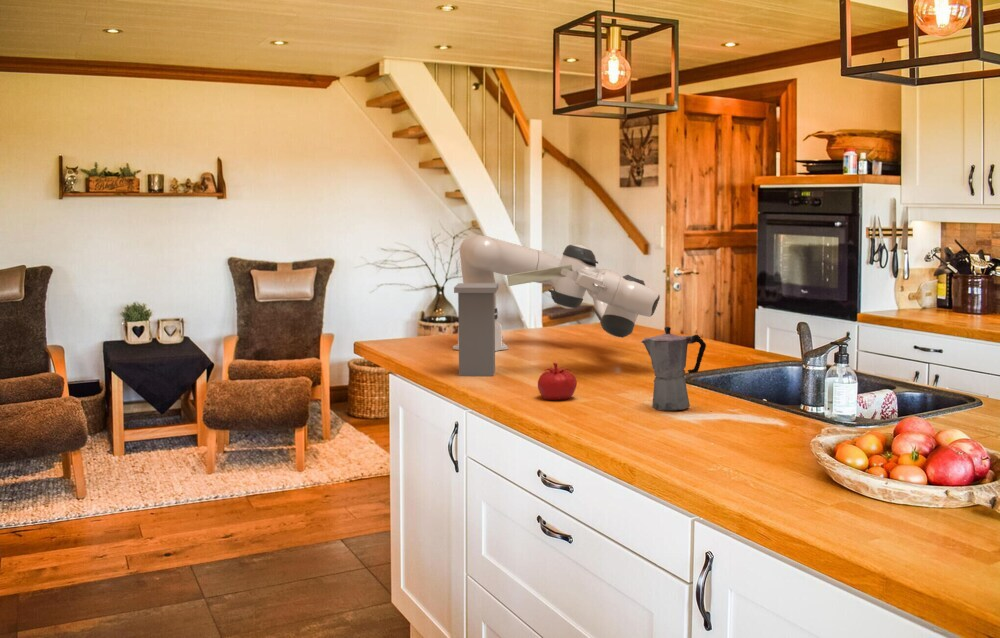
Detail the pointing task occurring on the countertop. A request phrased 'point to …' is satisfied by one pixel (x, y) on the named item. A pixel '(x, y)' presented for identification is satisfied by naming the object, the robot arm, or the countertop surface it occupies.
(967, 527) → the countertop surface
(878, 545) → the countertop surface
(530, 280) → the beige block
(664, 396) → the moka pot
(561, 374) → the pomegranate
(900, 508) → the countertop surface
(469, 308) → the tall stand
